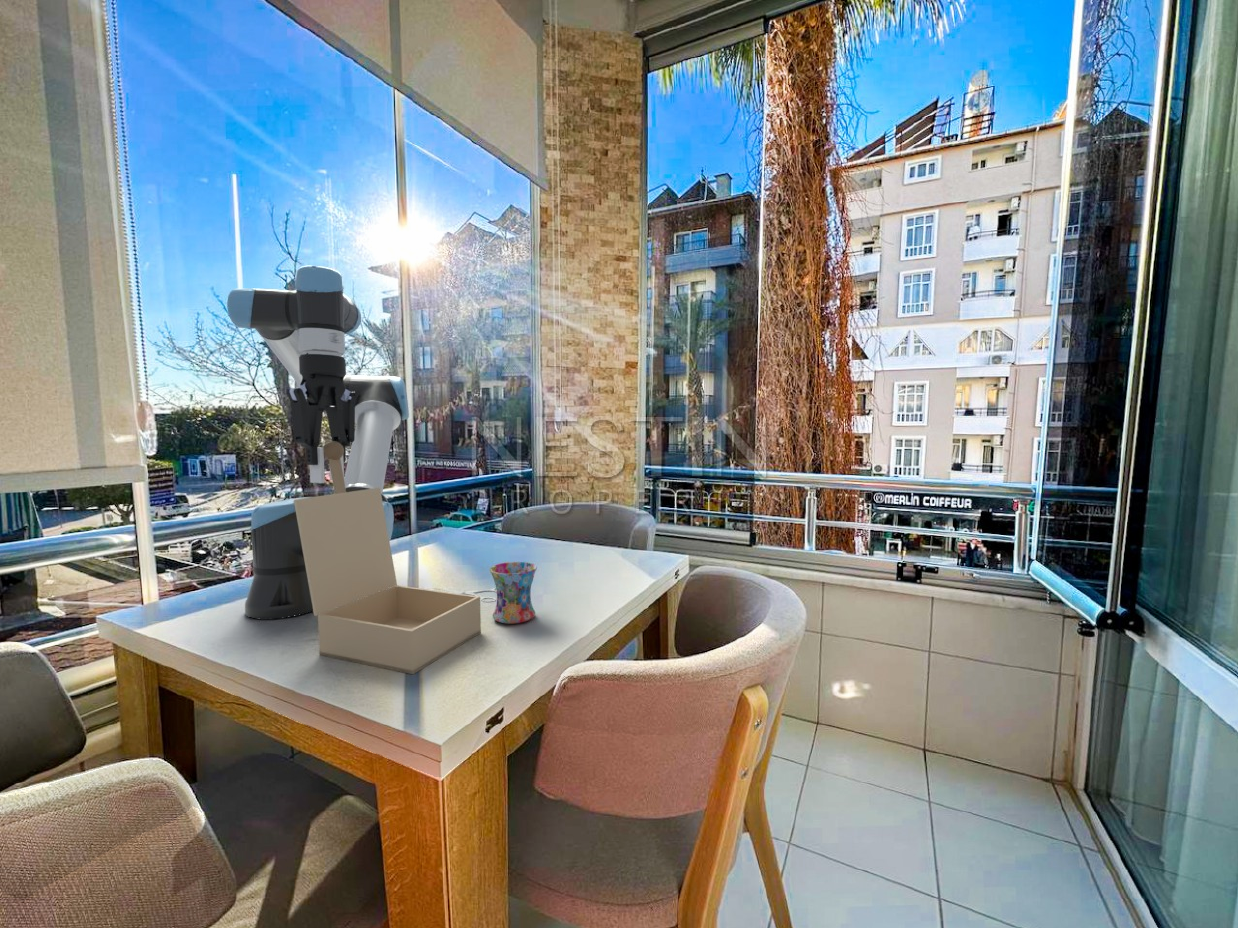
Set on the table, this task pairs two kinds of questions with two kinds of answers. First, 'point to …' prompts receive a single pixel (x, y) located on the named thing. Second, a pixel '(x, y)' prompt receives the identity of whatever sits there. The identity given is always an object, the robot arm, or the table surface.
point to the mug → (513, 591)
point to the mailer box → (399, 628)
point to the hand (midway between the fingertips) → (327, 481)
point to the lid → (344, 541)
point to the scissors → (474, 594)
